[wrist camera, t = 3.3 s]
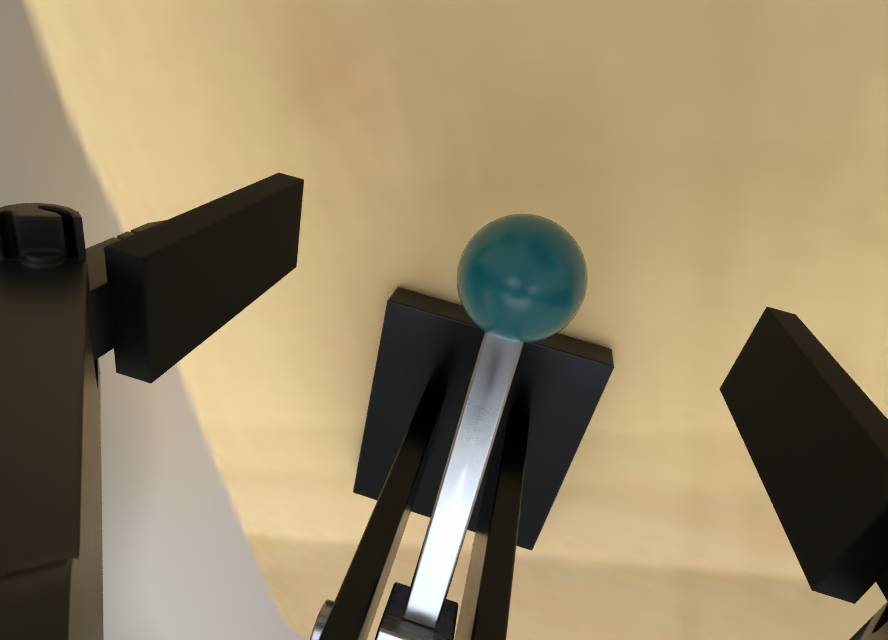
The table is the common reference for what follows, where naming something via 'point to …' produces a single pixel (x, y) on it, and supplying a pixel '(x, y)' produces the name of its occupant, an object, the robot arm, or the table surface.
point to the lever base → (428, 446)
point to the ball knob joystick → (487, 393)
